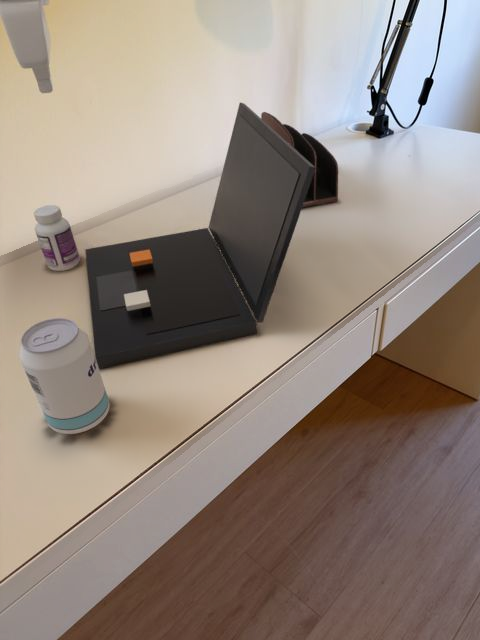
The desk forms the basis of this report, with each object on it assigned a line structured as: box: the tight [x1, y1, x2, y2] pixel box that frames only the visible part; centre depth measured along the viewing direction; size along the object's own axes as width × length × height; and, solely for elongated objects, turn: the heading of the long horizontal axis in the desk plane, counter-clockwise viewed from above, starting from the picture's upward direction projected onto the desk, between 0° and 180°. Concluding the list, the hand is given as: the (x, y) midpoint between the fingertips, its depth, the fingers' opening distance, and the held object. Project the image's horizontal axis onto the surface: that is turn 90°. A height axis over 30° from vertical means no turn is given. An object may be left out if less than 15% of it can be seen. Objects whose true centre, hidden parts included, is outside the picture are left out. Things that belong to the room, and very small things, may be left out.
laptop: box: [85, 227, 258, 370], centre depth 79 cm, size 21×30×2 cm
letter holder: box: [260, 111, 339, 209], centre depth 105 cm, size 10×20×14 cm, turn 16°
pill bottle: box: [33, 204, 81, 272], centre depth 85 cm, size 5×5×10 cm
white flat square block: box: [124, 290, 151, 311], centre depth 73 cm, size 3×3×1 cm
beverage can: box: [19, 317, 111, 435], centre depth 56 cm, size 7×7×12 cm
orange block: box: [129, 249, 153, 267], centre depth 82 cm, size 3×3×1 cm
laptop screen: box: [207, 102, 316, 323], centre depth 76 cm, size 21×30×1 cm
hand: (47, 90), depth 77 cm, fingers closed
